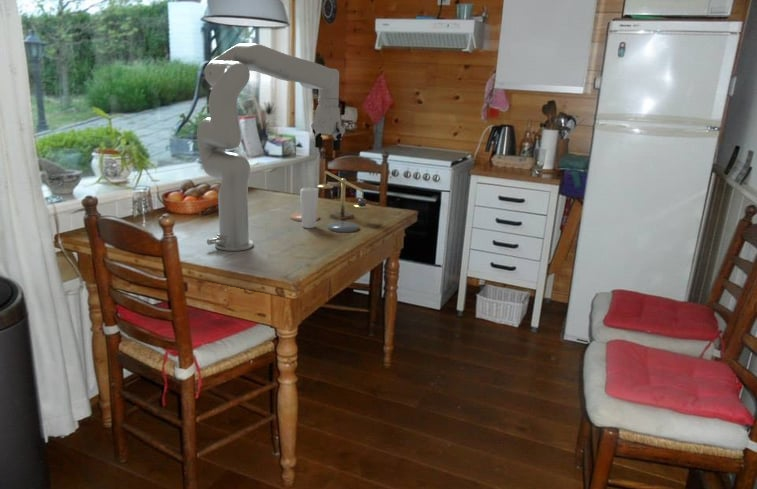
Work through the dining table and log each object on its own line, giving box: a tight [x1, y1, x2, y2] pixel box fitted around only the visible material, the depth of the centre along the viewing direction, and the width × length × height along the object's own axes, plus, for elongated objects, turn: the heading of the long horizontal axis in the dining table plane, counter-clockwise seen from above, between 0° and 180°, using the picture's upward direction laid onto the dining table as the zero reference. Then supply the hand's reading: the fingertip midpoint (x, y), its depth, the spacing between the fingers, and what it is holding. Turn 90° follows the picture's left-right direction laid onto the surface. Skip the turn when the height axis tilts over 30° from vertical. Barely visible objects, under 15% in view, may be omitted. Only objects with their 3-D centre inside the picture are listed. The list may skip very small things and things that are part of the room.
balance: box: [316, 170, 371, 221], centre depth 231 cm, size 8×29×18 cm, turn 50°
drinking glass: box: [299, 187, 319, 229], centre depth 214 cm, size 7×7×15 cm
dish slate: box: [327, 221, 359, 233], centre depth 217 cm, size 12×12×1 cm
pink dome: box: [289, 211, 320, 223], centre depth 229 cm, size 12×12×1 cm
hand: (327, 148), depth 212 cm, fingers open, 9 cm apart
